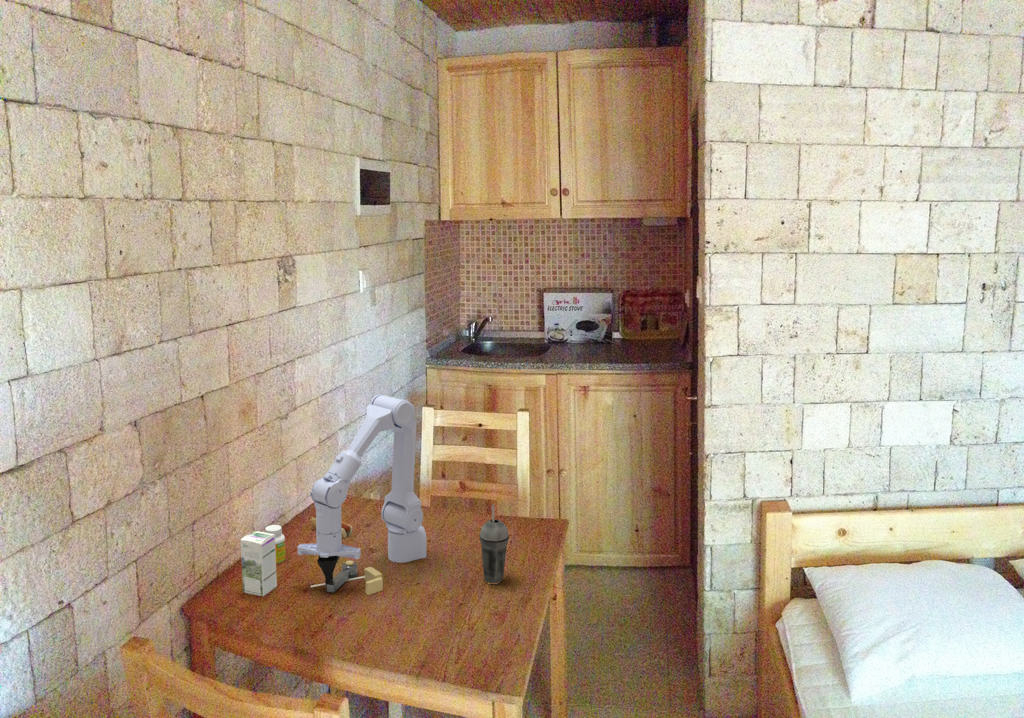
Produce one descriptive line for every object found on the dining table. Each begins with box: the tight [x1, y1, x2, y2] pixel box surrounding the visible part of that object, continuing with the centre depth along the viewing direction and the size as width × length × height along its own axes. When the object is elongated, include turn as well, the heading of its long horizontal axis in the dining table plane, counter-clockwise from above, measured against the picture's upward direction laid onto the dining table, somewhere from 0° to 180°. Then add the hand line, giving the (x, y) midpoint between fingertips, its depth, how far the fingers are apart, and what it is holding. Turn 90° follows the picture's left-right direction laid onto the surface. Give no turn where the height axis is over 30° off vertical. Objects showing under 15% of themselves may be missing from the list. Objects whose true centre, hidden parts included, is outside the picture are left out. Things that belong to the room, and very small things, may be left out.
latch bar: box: [326, 561, 358, 593], centre depth 198 cm, size 12×4×3 cm, turn 165°
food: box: [310, 513, 354, 539], centre depth 228 cm, size 14×6×5 cm, turn 54°
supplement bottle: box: [264, 524, 287, 565], centre depth 209 cm, size 5×5×10 cm
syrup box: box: [240, 530, 278, 597], centre depth 192 cm, size 6×6×14 cm
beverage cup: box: [478, 504, 510, 583], centre depth 202 cm, size 7×7×20 cm
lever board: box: [310, 560, 384, 596], centre depth 197 cm, size 16×18×5 cm
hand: (329, 584), depth 195 cm, fingers closed, pressing on latch bar
